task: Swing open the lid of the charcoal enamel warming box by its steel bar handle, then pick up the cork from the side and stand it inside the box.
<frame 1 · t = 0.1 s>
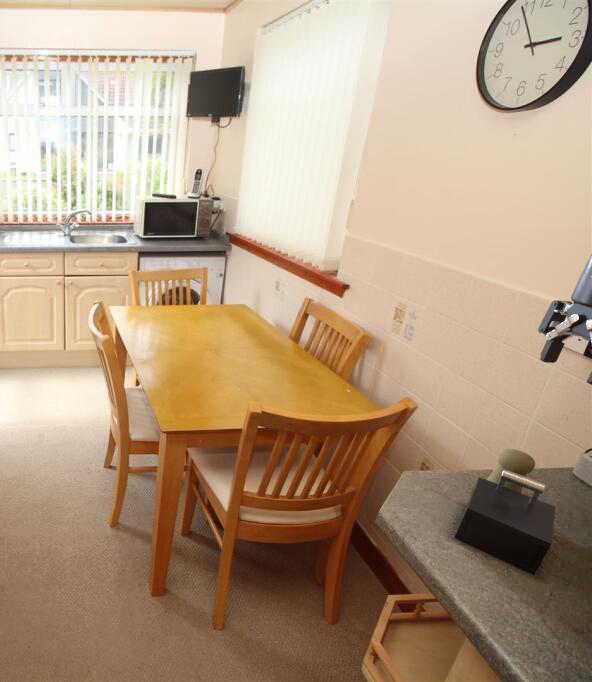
hand: (569, 372, 78), 30 cm above the countertop, tool pointing down, fingers open, 8 cm apart
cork: (496, 500, 93), on the countertop
warmer lid: (516, 498, 80), point 8 cm above the countertop, hinge at 0.0°
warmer: (497, 538, 83), on the countertop
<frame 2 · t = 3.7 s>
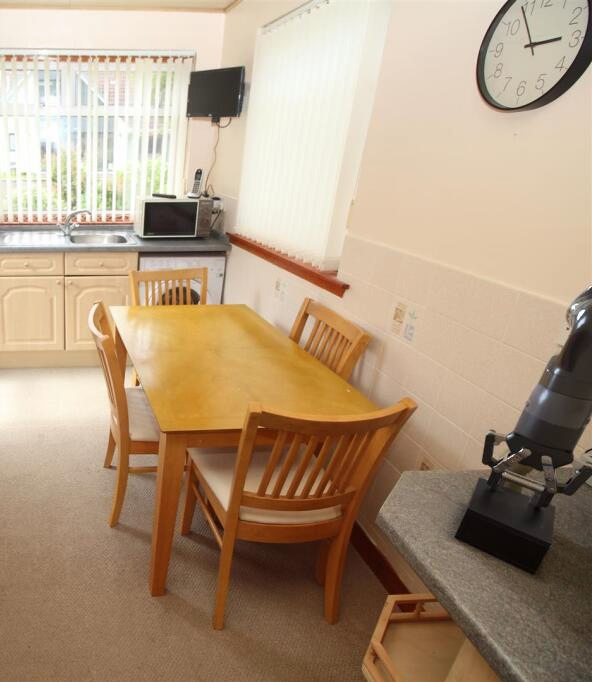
hand: (514, 496, 83), 7 cm above the countertop, tool pointing down, fingers closed on warmer lid, 5 cm apart
warmer lid: (516, 498, 80), point 8 cm above the countertop, hinge at 0.0°, touching gripper
everything else where it was.
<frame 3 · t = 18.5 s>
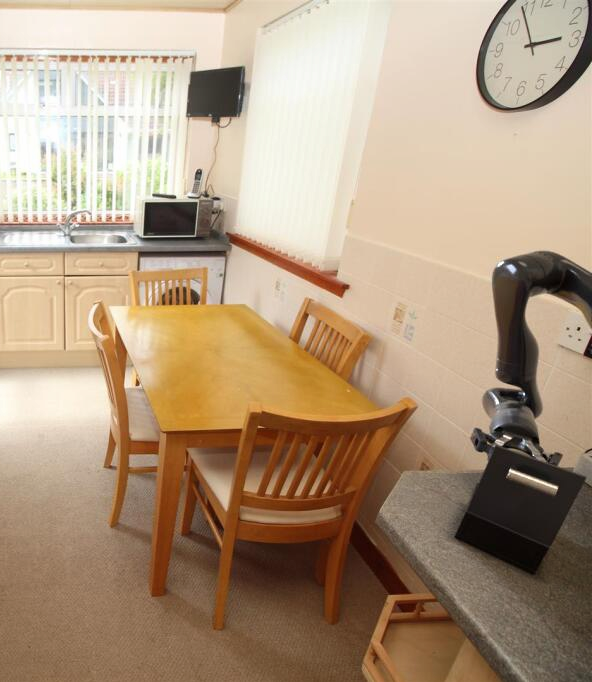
hand: (515, 468, 87), 9 cm above the countertop, tool horizontal, fingers closed on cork, 5 cm apart
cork: (497, 500, 93), on the countertop, touching gripper
warmer lid: (521, 499, 74), point 13 cm above the countertop, hinge at 82.2°
when the fingers open (10 cm above the countertop, at t = 25.2 s): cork stays where it is, resting on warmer.
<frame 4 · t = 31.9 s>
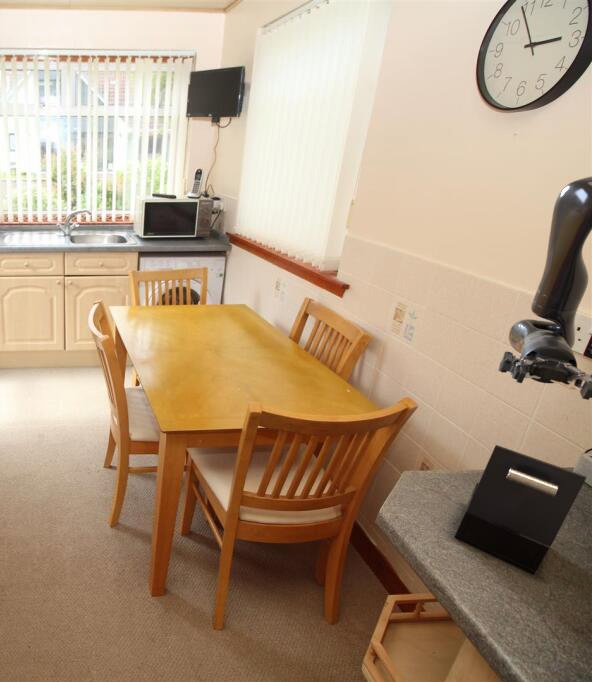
hand: (554, 385, 81), 26 cm above the countertop, tool horizontal, fingers open, 8 cm apart
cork: (497, 534, 83), point 1 cm above the countertop, touching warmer
everything else where it was.
at the end: warmer lid at +82° (first picture: +0°); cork inside the target area in the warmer (0.2 cm from its centre), point 0.6 cm above the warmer's base; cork tilted 0° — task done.
